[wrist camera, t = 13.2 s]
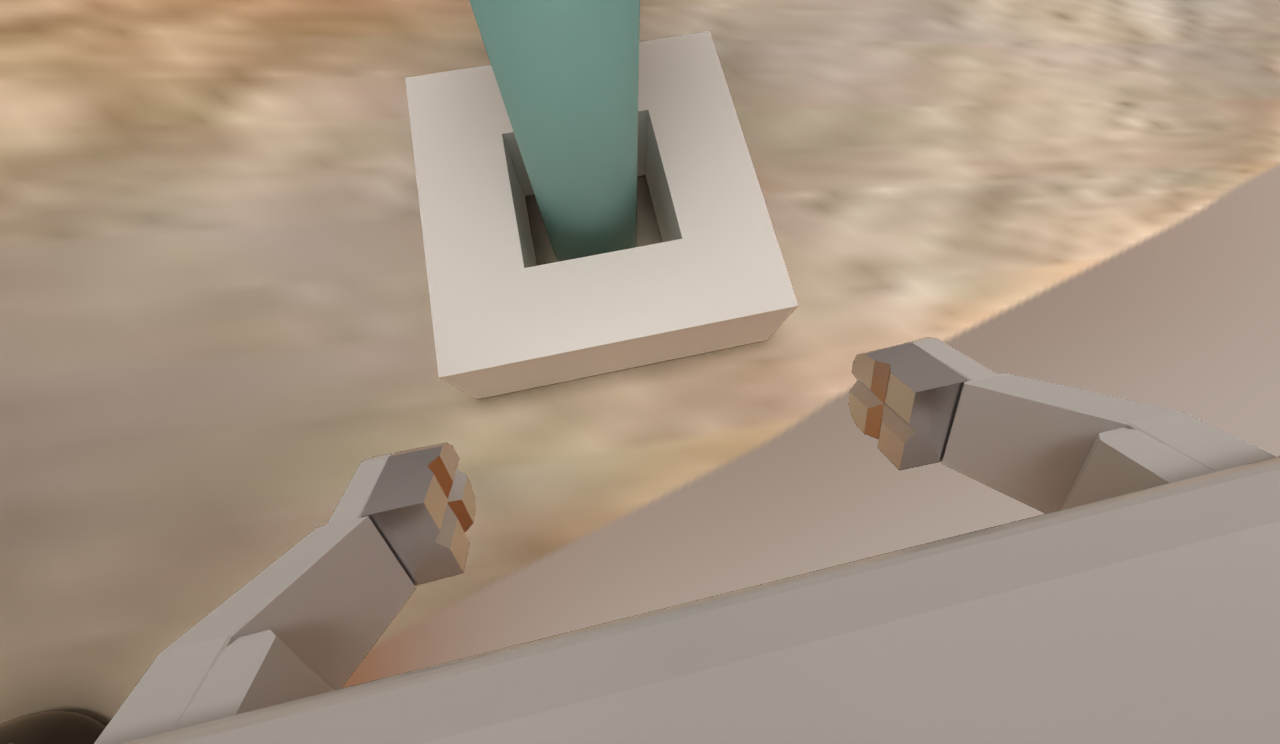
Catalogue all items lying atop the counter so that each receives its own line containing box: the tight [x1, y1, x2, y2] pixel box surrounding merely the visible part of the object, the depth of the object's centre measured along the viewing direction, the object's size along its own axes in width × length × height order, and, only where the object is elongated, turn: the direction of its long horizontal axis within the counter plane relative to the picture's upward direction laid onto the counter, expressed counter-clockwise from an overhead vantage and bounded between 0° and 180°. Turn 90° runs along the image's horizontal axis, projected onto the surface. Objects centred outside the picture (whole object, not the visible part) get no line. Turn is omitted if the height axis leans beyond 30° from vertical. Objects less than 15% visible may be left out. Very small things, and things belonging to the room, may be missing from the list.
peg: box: [470, 0, 640, 262], centre depth 16 cm, size 4×4×12 cm
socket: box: [405, 31, 798, 399], centre depth 20 cm, size 13×13×4 cm
